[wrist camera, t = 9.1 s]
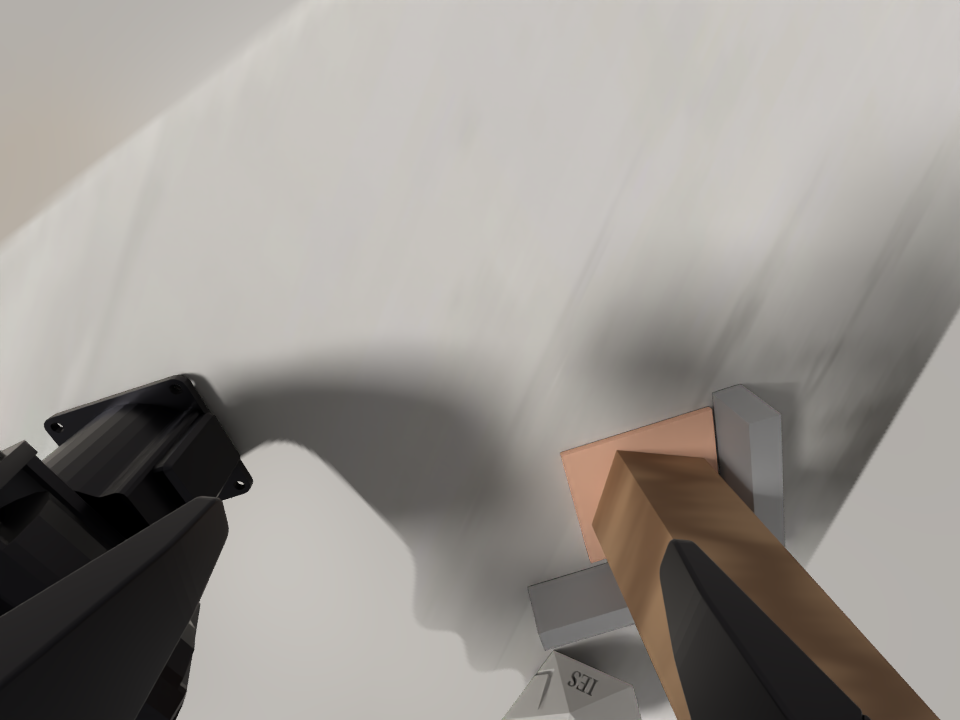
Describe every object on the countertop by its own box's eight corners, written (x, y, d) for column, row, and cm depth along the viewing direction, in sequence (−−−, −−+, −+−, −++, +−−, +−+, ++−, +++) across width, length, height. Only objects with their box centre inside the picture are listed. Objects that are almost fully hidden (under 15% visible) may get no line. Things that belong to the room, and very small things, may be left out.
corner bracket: (533, 603, 29) (544, 650, 26) (482, 464, 24) (489, 504, 22) (751, 537, 29) (785, 578, 26) (741, 384, 24) (781, 413, 21)
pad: (589, 559, 28) (591, 563, 28) (560, 452, 25) (561, 456, 24) (720, 519, 28) (723, 522, 27) (708, 406, 24) (711, 409, 24)
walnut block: (591, 524, 26) (725, 827, 15) (616, 450, 25) (794, 729, 13) (673, 529, 27) (862, 821, 15) (703, 457, 25) (946, 727, 13)
